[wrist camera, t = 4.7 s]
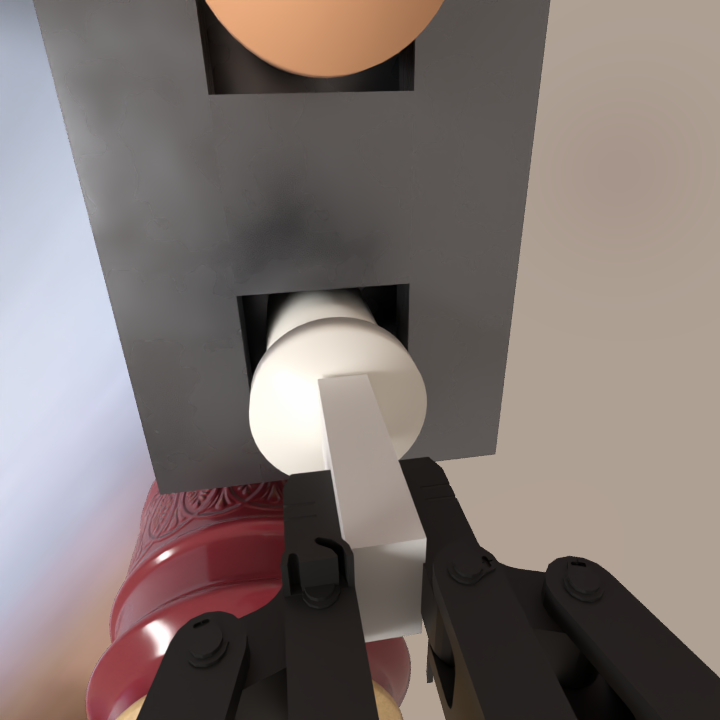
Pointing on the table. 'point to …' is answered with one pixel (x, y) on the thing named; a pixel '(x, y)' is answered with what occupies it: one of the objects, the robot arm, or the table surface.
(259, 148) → the block
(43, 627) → the table surface
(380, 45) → the tan round-topped peg
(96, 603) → the table surface
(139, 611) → the canister
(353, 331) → the white knob
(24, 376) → the table surface
